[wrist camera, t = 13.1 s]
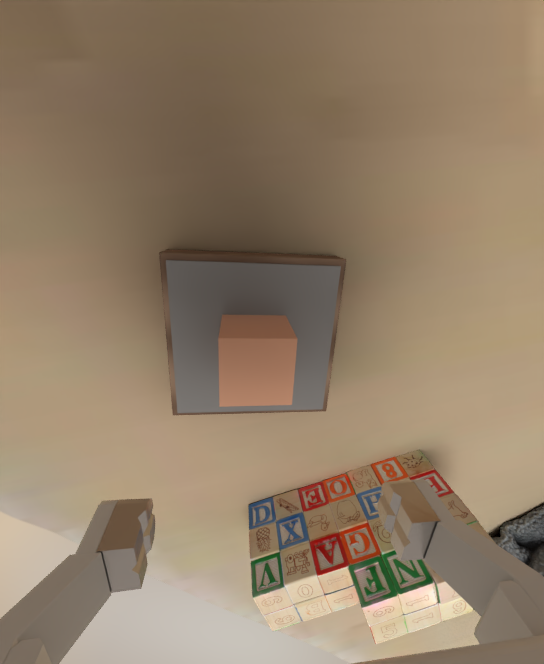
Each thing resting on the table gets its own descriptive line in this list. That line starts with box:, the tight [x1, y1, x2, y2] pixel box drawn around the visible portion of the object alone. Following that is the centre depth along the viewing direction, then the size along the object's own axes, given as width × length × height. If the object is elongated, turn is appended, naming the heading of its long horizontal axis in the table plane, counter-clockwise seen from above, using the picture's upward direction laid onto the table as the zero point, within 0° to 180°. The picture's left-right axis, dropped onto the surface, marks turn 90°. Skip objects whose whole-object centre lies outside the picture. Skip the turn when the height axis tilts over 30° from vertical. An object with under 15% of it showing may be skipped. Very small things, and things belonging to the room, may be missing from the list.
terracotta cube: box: [218, 315, 297, 407], centre depth 22 cm, size 5×5×5 cm
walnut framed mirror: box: [159, 249, 346, 415], centre depth 25 cm, size 14×14×3 cm
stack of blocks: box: [249, 450, 497, 644], centre depth 30 cm, size 21×6×12 cm, turn 107°
